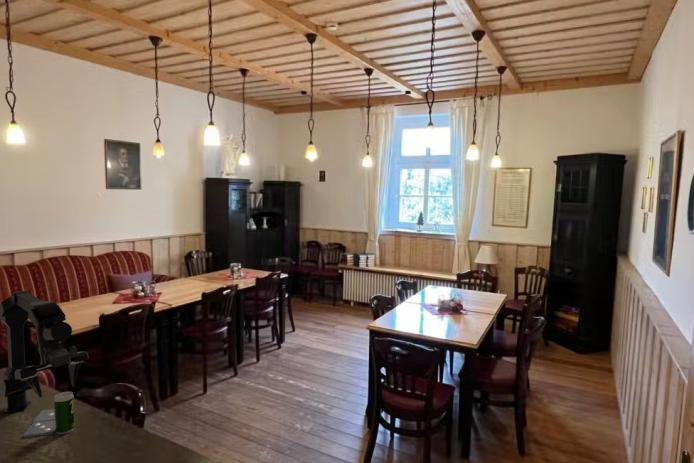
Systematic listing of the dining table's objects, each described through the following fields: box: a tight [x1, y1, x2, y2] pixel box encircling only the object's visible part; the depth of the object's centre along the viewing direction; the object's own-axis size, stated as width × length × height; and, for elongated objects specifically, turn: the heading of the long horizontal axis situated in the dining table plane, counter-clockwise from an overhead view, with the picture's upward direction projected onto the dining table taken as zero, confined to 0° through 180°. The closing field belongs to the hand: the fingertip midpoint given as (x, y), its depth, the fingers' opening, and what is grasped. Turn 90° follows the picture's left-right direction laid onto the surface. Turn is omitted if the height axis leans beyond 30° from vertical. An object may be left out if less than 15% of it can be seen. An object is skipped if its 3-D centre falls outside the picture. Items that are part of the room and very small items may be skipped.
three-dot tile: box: [22, 420, 56, 439], centre depth 140 cm, size 8×8×1 cm
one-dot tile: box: [32, 408, 55, 424], centre depth 148 cm, size 8×8×1 cm
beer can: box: [53, 391, 76, 435], centre depth 139 cm, size 5×5×12 cm
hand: (57, 391), depth 133 cm, fingers open, 9 cm apart
